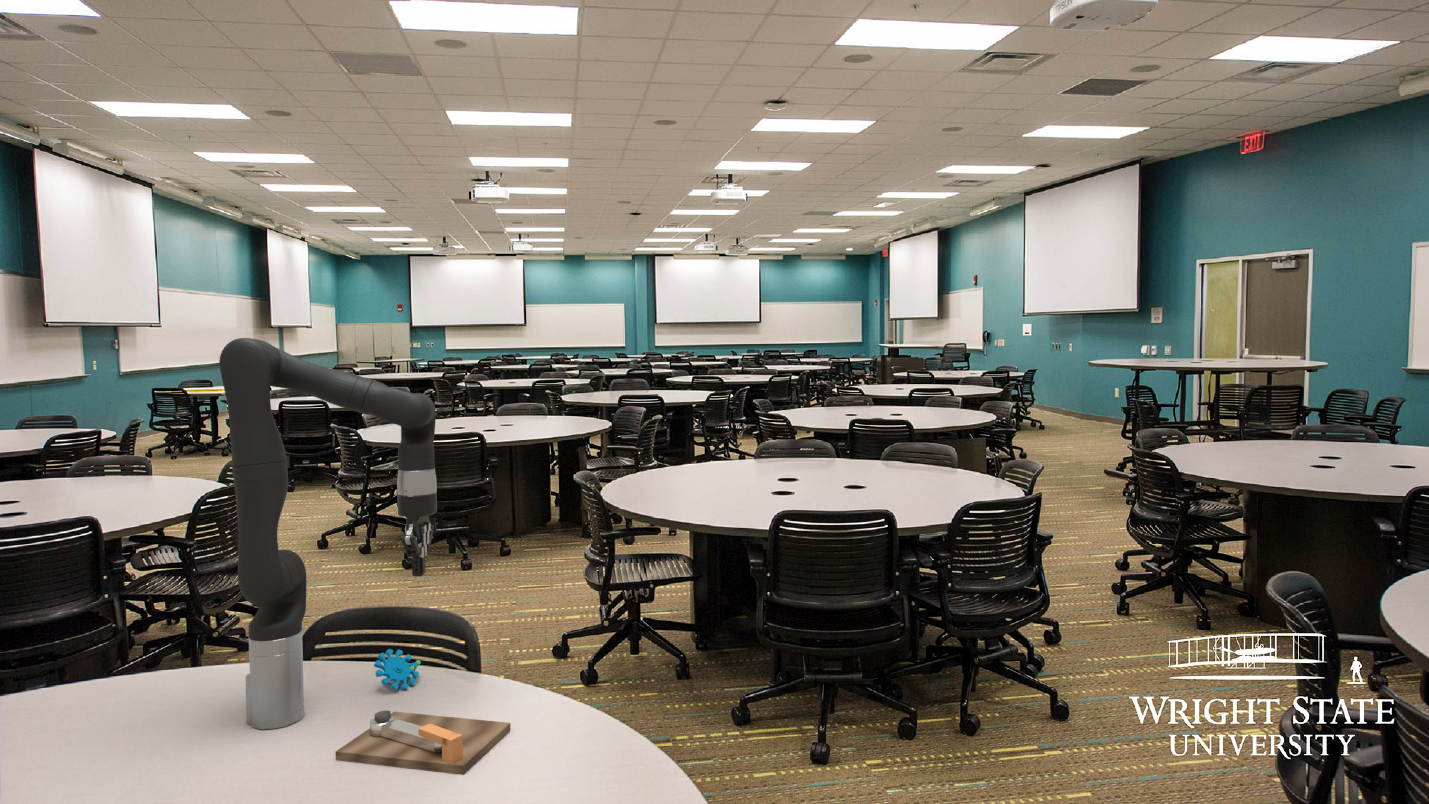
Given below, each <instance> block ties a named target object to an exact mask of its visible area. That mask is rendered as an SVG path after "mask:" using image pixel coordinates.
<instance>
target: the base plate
mask: <svg viewBox="0 0 1429 804" xmlns="http://www.w3.org/2000/svg"><path fill="white" fill-rule="evenodd" d="M391 716H394V717H395V719H398V720H402V721H405V722H409V723H412V724H416V725H419V726H425V725H428V724H433V725H435V726H438V727H441V728H444V729H447V730H449V731H452V732H455V733H458V734H461V735H462V743H463V758H461V759H459V760H457V761H455V762H453V763H452V764H451V763H449V762H446V761H444V760H442V752H439V753H438V752H433V751H429V750H426V749H423V748H419V747H416V746H412V745H409V744H406V743H402V742H399V741H396V740H392V739H389V738H386V737H382V736H372V735H371V734H370V727H369V728H368V729H366V730H365V731H364V732H362V733H360V734H359V735H358V736H356V737H355V738H353V739H352V740H350V741H349V742H347V743H346V744H344V745H343V746H342V747H340V748H339V749H337V750H336V751H335V760H336V761H344V762H350V763H360V764H366V765H367V764H369V765H378V766H385V767H386V766H387V767H395V768H404V769H414V770H422V771H428V772H429V771H430V772H431V771H432V772H437V773H440V772H441V773H447V774H458V775H465V774H466V773H467V772H468V771H469V770H470V769H471V768H472V767H473V766H474V765H475V764H477V763H478V762H479V761H480V760H482V758H483V757H484V756H485V755H486V754H488V752H489V751H491V750H492V748H494V747H495V746H496V745H497V744H498V743H499V742H500V741H502V739H504V737H505V736H506V735H507V734H508V733H510V732H511V729H512V728H511V722H505V721H494V720H485V719H484V720H483V719H475V718H464V717H453V716H444V715H434V714H423V713H412V712H404V711H393V712H391V711H390V710H380V711H377V712H375V713H374V718H375V722H385V721H388V720H390V719H391ZM374 718H373V719H374Z"/></svg>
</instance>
